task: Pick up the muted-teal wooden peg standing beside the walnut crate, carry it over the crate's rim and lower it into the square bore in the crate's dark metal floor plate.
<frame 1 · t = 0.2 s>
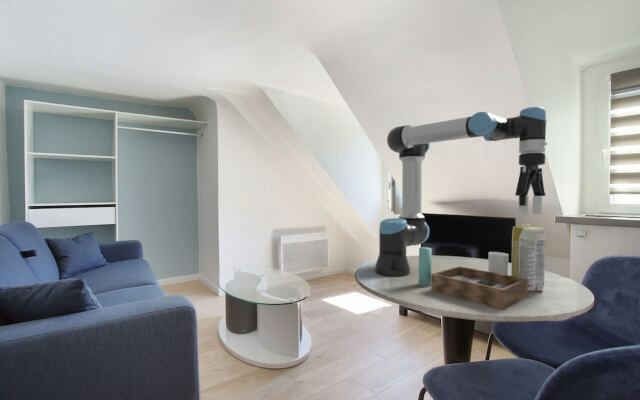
hand: (530, 214, 110), 28 cm above the table, fingers open, 13 cm apart
mug: (496, 283, 123), on the table
peg: (424, 284, 121), on the table
juice carton: (527, 289, 117), on the table
crate: (478, 293, 110), on the table
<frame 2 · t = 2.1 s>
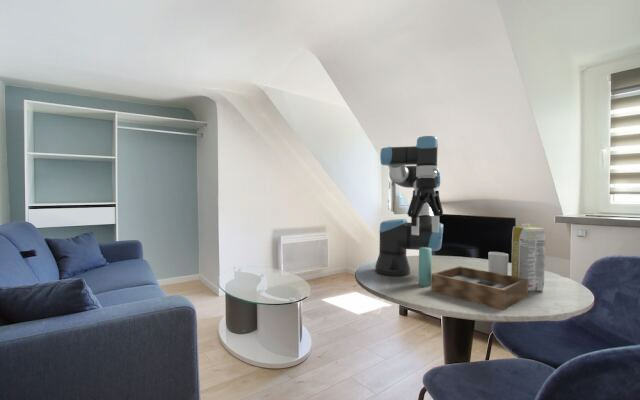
hand: (425, 233, 120), 20 cm above the table, fingers open, 13 cm apart
nothing on the table moved.
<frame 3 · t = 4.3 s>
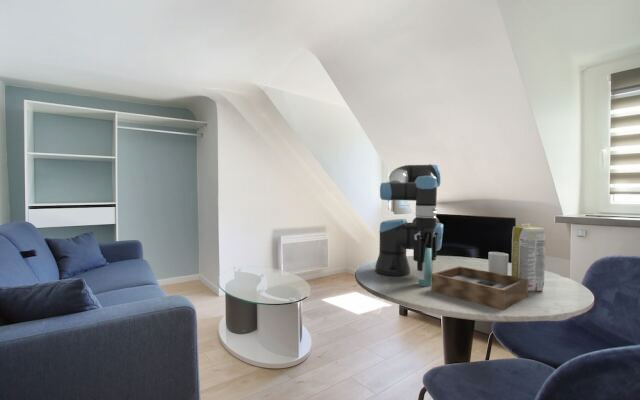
hand: (424, 277, 121), 3 cm above the table, fingers closed on peg, 4 cm apart
peg: (424, 284, 121), on the table, touching gripper
everything else where it was.
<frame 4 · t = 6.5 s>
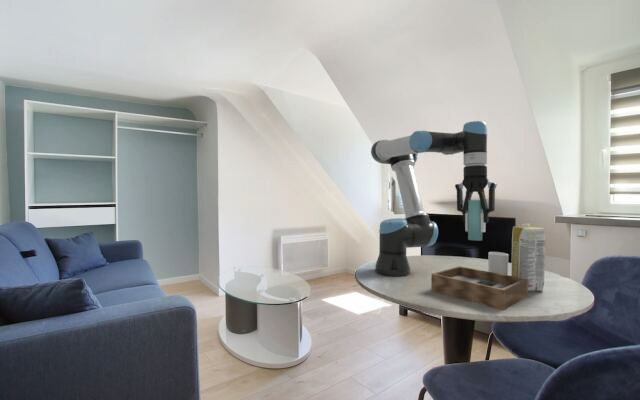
hand: (475, 231, 112), 22 cm above the table, fingers closed on peg, 4 cm apart
peg: (475, 239, 112), point 19 cm above the table, touching gripper
everything else where it was.
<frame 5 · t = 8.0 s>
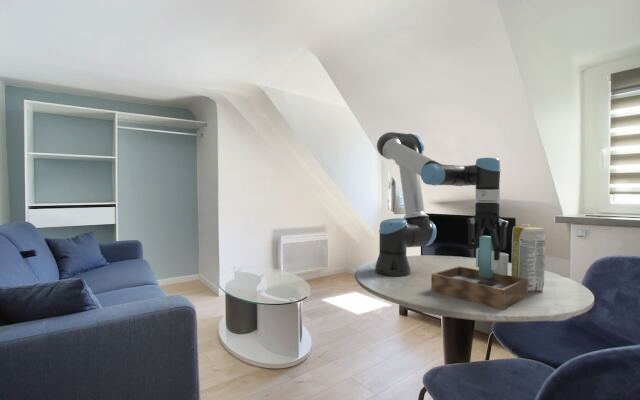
hand: (486, 267, 112), 9 cm above the table, fingers closed on peg, 4 cm apart
peg: (485, 276, 112), point 6 cm above the table, touching gripper
everything else where it was.
when the fingers open (5 cm above the table, at t = 9.1 s): peg drops 1 cm, resting in crate.
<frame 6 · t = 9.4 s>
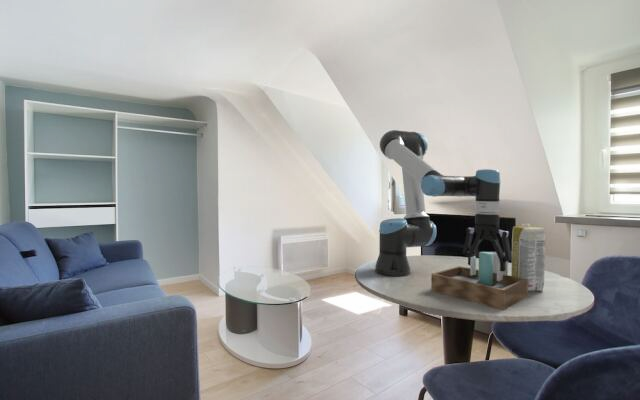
hand: (485, 277, 112), 5 cm above the table, fingers open, 8 cm apart
peg: (485, 292, 112), resting in crate
everything else where it was.
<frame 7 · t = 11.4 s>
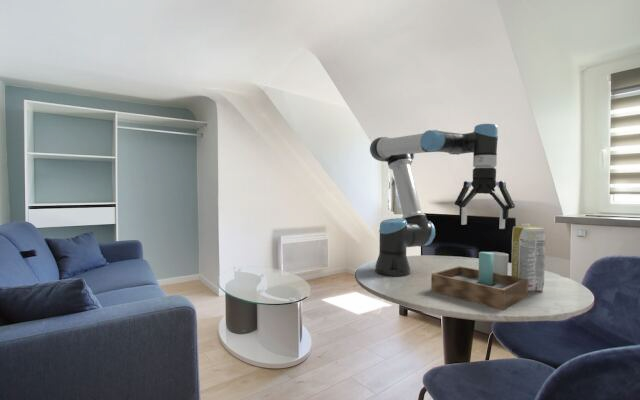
hand: (482, 226, 115), 23 cm above the table, fingers open, 13 cm apart
nothing on the table moved.
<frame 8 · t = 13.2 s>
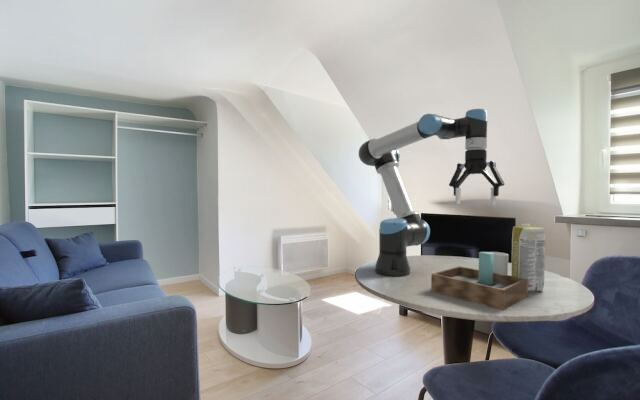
hand: (474, 204, 123), 31 cm above the table, fingers open, 13 cm apart
nothing on the table moved.
at the end: peg 0.1 cm from the target spot on the crate, point 0.0 cm above the crate's base; peg tilted 0°; the gripper is holding nothing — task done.
